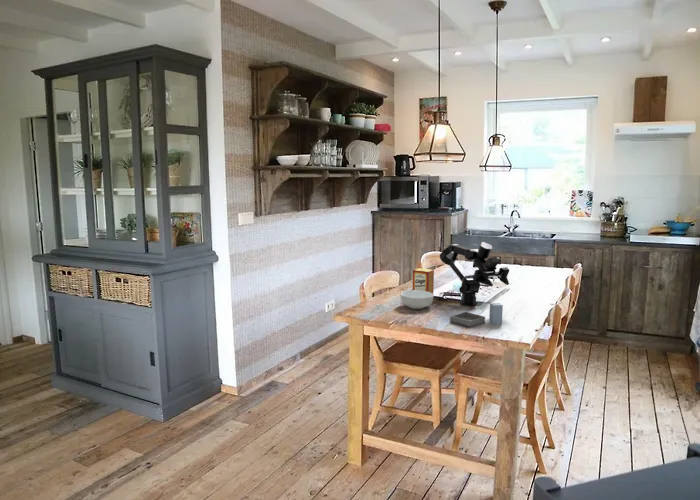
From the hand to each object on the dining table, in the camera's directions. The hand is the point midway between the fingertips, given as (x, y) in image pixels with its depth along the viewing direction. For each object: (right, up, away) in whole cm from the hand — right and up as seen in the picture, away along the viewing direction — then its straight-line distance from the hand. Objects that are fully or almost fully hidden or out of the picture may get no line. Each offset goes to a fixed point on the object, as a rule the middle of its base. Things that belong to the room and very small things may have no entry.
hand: (500, 285), depth 253 cm
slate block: (-4, -17, -7) cm, 19 cm away
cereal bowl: (-38, -13, +21) cm, 45 cm away
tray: (-17, -17, -7) cm, 25 cm away
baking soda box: (-32, -10, +40) cm, 52 cm away
